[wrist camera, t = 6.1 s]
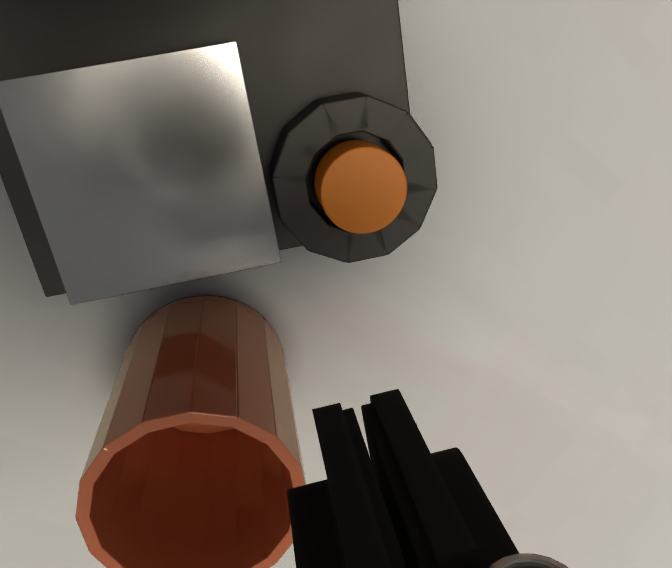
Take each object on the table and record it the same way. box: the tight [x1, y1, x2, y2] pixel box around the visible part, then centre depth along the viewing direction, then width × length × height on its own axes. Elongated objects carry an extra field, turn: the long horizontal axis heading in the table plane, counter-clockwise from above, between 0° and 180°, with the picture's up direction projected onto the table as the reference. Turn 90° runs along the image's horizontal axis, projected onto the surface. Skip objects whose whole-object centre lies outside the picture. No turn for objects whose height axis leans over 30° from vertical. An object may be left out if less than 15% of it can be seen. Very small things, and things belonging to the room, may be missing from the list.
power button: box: [314, 140, 407, 234], centre depth 21 cm, size 3×3×2 cm
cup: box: [76, 296, 306, 568], centre depth 23 cm, size 7×7×9 cm
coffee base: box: [0, 0, 437, 297], centre depth 21 cm, size 15×16×3 cm
